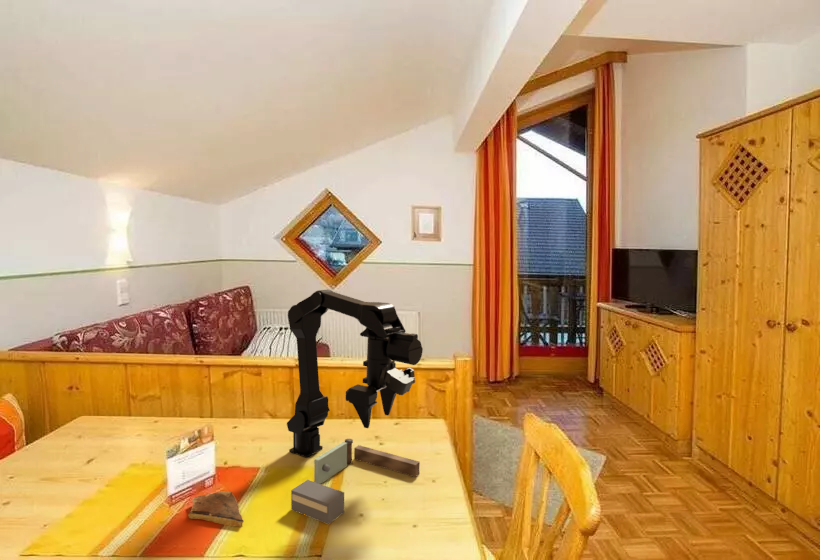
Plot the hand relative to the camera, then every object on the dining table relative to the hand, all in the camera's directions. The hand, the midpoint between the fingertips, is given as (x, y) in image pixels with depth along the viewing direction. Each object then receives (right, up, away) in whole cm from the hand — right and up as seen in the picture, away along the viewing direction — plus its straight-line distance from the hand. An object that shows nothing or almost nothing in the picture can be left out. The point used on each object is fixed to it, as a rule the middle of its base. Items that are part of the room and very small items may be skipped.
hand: (377, 421), depth 111 cm
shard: (-31, -15, -14) cm, 37 cm away
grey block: (-12, -15, -13) cm, 23 cm away
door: (-11, -13, +1) cm, 17 cm away
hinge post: (-8, -13, +8) cm, 17 cm away
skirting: (+2, -13, +7) cm, 15 cm away
